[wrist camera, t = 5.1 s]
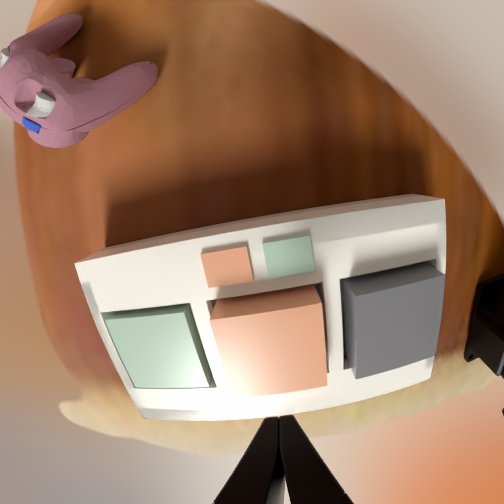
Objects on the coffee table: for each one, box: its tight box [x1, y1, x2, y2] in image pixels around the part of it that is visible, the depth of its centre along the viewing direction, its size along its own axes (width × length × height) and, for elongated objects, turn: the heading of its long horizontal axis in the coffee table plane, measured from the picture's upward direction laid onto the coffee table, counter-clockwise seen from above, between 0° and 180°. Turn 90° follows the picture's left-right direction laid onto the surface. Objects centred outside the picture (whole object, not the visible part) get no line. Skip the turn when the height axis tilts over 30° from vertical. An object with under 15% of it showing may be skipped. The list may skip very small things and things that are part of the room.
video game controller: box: [0, 13, 158, 148], centre depth 9 cm, size 10×5×7 cm, turn 46°
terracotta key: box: [210, 284, 327, 398], centre depth 12 cm, size 4×4×2 cm
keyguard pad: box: [75, 194, 446, 421], centre depth 13 cm, size 17×10×3 cm, turn 101°
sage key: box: [105, 303, 212, 388], centre depth 13 cm, size 4×4×2 cm
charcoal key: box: [342, 261, 445, 379], centre depth 11 cm, size 4×4×2 cm
